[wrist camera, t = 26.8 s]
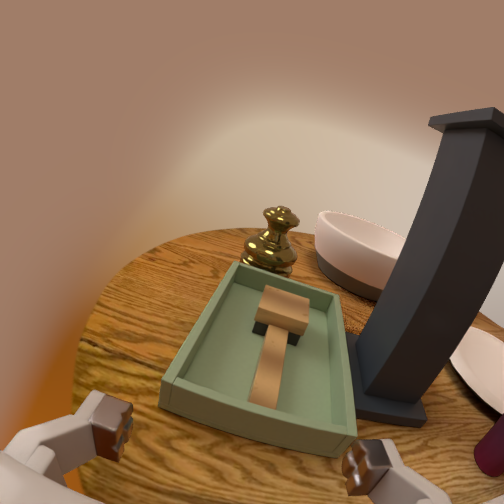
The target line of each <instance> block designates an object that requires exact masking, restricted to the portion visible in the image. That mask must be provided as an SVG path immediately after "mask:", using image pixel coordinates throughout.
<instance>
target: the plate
mask: <svg viewBox="0 0 504 504" xmlns="http://www.w3.org/2000/svg"><path fill="white" fill-rule="evenodd" d="M449 361H450V363H451V365H452V366H453V368H454V370H455V371H456V373H457V374H458V375H459V376H460V378H461V379H462V380H463V382H464V383H465V384H466V386H467V387H468V388H469V389H470V390H471V391H472V392H473V393H474V394H475V395H476V396H477V397H478V398H479V399H480V400H481V401H482V402H483V403H485V404H486V405H487V406H488V407H490V408H491V409H492V410H494V411H495V412H496V413H497V414H499V415H500V416H502V415H503V413H504V342H503V341H501V340H499V339H497V338H496V337H494V336H492V335H491V334H489V333H486V332H484V331H482V330H480V329H477V328H474V327H469V329H468V331H467V332H466V334H465V335H464V337H463V339H462V340H461V342H460V343H459V345H458V347H457V348H456V350H455V351H454V353H453V354H452V356H451V357H450V359H449Z"/></svg>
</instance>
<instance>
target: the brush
mask: <svg viewBox="0 0 504 504" xmlns="http://www.w3.org/2000/svg"><path fill="white" fill-rule="evenodd" d="M309 300H310V299H308V298H304V297H301V296H298V295H295V294H292V293H289V292H286V291H283V290H280V289H277V288H274V287H271V286H268V285H265V288H264V291H263V294H262V297H261V300H260V303H259V306H258V309H257V312H256V315H255V318H254V321H255V323H254V327H253V330H252V332H253V333H256V334H259V335H262V336H264V340H263V343H262V347H261V351H260V355H259V359H258V362H257V366H256V370H255V373H254V377H253V381H252V384H251V388H250V392H249V395H248V399H247V402H250V403H253V404H256V405H260V406H263V407H267V408H270V409H274V410H276V408H277V402H278V396H279V390H280V384H281V378H282V372H283V365H284V359H285V352H286V346H287V344H290V345H293V346H296V345H297V343H298V341H299V339H300V337H301V336H303V335H304V333H305V331H306V328H307V326H308V324H309Z"/></svg>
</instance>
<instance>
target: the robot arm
mask: <svg viewBox="0 0 504 504" xmlns="http://www.w3.org/2000/svg"><path fill="white" fill-rule="evenodd" d="M132 412H133V404H132V403H129V402H127V401H124V400H121V399H118V398H115V397H113V396H110V395H107V394H104V393H102V392H99V391H97V390H93V391H91V392H90V394H89V395H88V396H87V398H86V399H85V401H84V402H83V403H82V405H81V406H80V408H79V409H78V410H77V412H76V413H75V415H74V416H73V415H71V414H70V415H67V416H64V417H61V418H58V419H55V420H52V421H49V422H46V423H43V424H40V425H36V426H33V427H30V428H27V429H23V430H20V431H19V432H18V433H17V434H16V435H15V437H14V438H13V439H12V440H11V441H10V443H9V444H8V445H7V447H6V448H5V449H4V450H3V451H1V450H0V504H105V503H102V502H100V501H97V500H95V499H92V498H90V497H87V496H85V495H83V494H80V493H78V492H76V491H73V490H71V489H69V488H68V487H67V485H66V482H65V480H64V477H63V475H64V474H66V473H68V472H70V471H71V470H73V469H75V468H77V467H79V466H80V465H82V464H84V463H86V462H88V461H89V460H91V459H93V458H95V457H96V456H97V455H98V456H101V457H103V458H106V459H109V460H112V461H115V462H118V463H119V461H120V459H121V457H122V454H123V452H124V444H125V443H127V442H128V441H129V439H130V437H131V433H132V429H133V418H132V417H131V414H132ZM351 448H352V450H351V451H349V452H348V453H346V455H345V457H344V458H343V461H342V473H343V475H344V476H345V477H346V478H347V481H346V483H345V485H346V489H347V493H348V496H361V495H368V497H369V498H370V499H371V500H372V501H373V502H374V503H375V504H452V502H451V500H450V498H449V496H448V494H447V493H446V492H445V491H443V490H442V489H440V488H439V487H437V486H436V485H434V484H433V483H431V482H430V481H428V480H427V479H425V478H424V477H422V476H421V475H420V474H418V473H417V472H415V471H414V470H412V469H411V468H409V467H408V466H406V467H405V466H404V464H403V462H402V459H401V457H400V455H399V453H398V451H397V449H396V447H395V444H394V442H393V441H392V440H391V439H379V440H378V439H372V440H355V441H354V442H353V444H352V445H351ZM482 504H504V494H503V495H501V496H499V497H497V498H494V499H492V500H490V501H487V502H485V503H482Z"/></svg>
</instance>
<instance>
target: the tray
mask: <svg viewBox="0 0 504 504" xmlns="http://www.w3.org/2000/svg"><path fill="white" fill-rule="evenodd" d="M265 285H268V286H271V287H274V288H277V289H280V290H283V291H286V292H289V293H292V294H295V295H298V296H301V297H304V298H308V299H310V300H309V324H308V326H307V328H306V331H305V333H304V335H303V336H301V337H300V339H299V341H298V343H297V345H296V346H293V345H290V344H287V346H286V352H285V359H284V365H283V372H282V378H281V384H280V390H279V396H278V402H277V408H276V410H274V409H270V408H267V407H263V406H260V405H256V404H253V403H250V402H247V399H248V395H249V392H250V388H251V384H252V381H253V377H254V373H255V370H256V366H257V362H258V359H259V355H260V351H261V347H262V343H263V340H264V336H262V335H259V334H256V333H253V332H252V330H253V327H254V323H255V321H254V318H255V315H256V312H257V309H258V306H259V303H260V300H261V297H262V294H263V291H264V288H265ZM158 407H160V408H163V409H165V410H168V411H170V412H173V413H175V414H178V415H180V416H183V417H185V418H188V419H191V420H193V421H196V422H199V423H202V424H204V425H207V426H210V427H213V428H216V429H219V430H222V431H225V432H228V433H232V434H235V435H238V436H241V437H245V438H248V439H252V440H255V441H259V442H263V443H266V444H270V445H274V446H278V447H282V448H287V449H291V450H296V451H300V452H305V453H310V454H315V455H320V456H326V457H332V458H338V457H339V456H340V455H341V454H342V453H343V452H344V451H345V450H346V449H347V448H348V447H349V445H350V444H351V443H352V442H353V441H354V440H355V439H356V438H357V425H356V414H355V404H354V395H353V386H352V378H351V370H350V363H349V355H348V348H347V341H346V335H345V328H344V322H343V316H342V310H341V304H340V298H339V295H337V294H334V293H331V292H328V291H325V290H322V289H319V288H316V287H313V286H310V285H307V284H304V283H301V282H297V281H294V280H291V279H288V278H285V277H282V276H279V275H276V274H273V273H270V272H267V271H264V270H261V269H258V268H255V267H252V266H249V265H246V264H243V263H240V262H237V261H234V262H233V263H232V265H231V267H230V268H229V270H228V271H227V273H226V275H225V276H224V278H223V280H222V281H221V283H220V284H219V286H218V288H217V289H216V291H215V293H214V294H213V296H212V297H211V299H210V301H209V302H208V304H207V306H206V307H205V309H204V310H203V312H202V314H201V315H200V317H199V319H198V320H197V322H196V324H195V325H194V327H193V328H192V330H191V332H190V333H189V335H188V337H187V338H186V340H185V342H184V343H183V345H182V347H181V348H180V350H179V351H178V353H177V355H176V356H175V358H174V360H173V361H172V363H171V365H170V366H169V368H168V370H167V371H166V373H165V375H164V376H163V378H162V380H161V388H160V395H159V402H158Z"/></svg>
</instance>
